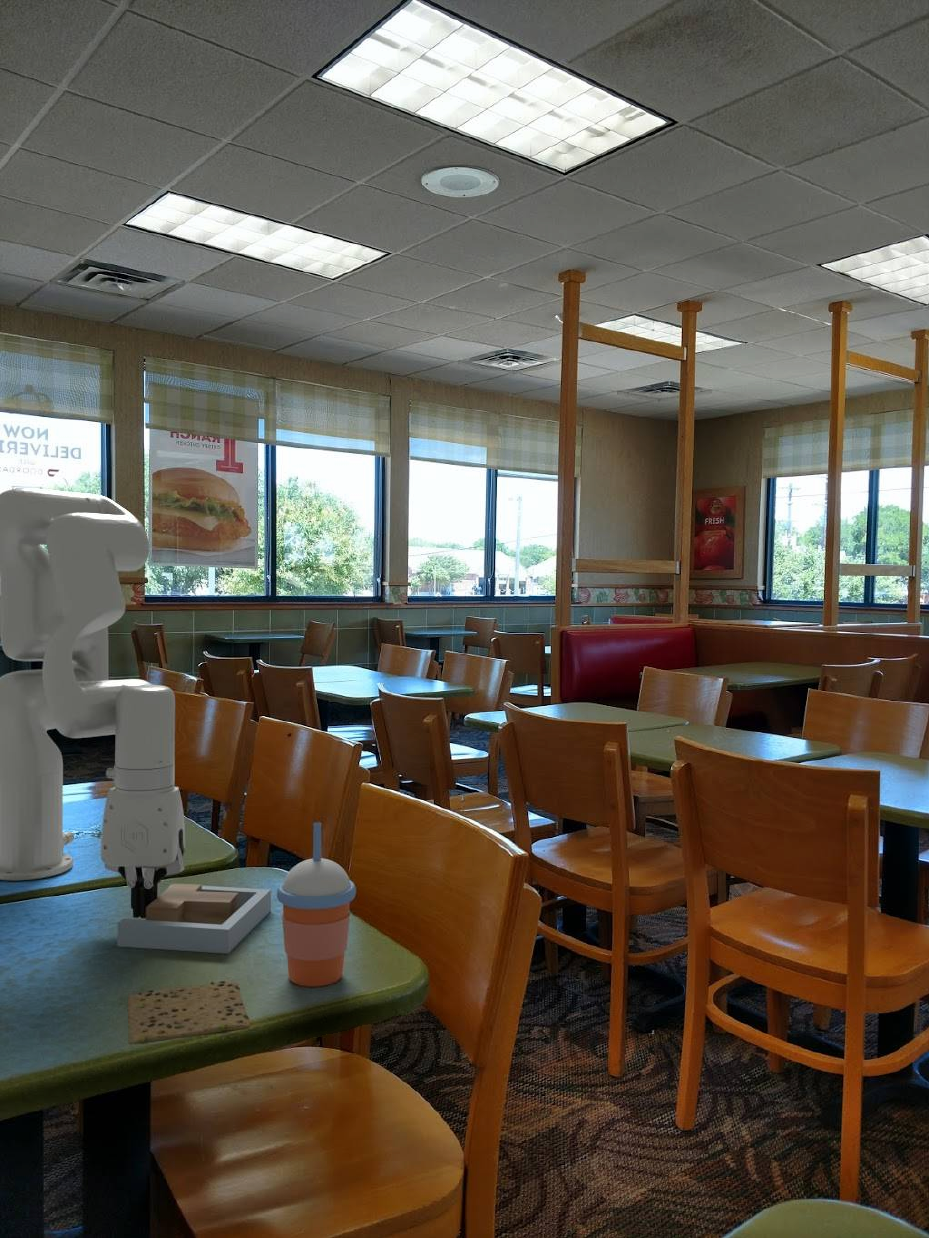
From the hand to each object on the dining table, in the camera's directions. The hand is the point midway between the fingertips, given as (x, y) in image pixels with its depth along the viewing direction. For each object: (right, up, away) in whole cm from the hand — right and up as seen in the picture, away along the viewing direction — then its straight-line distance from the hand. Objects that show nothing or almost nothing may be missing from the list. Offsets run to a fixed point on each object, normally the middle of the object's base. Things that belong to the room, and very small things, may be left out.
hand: (144, 914), depth 128 cm
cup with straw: (+25, -2, -16) cm, 30 cm away
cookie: (+13, -3, -26) cm, 29 cm away
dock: (+7, -2, -1) cm, 8 cm away
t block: (+7, -1, 0) cm, 7 cm away
